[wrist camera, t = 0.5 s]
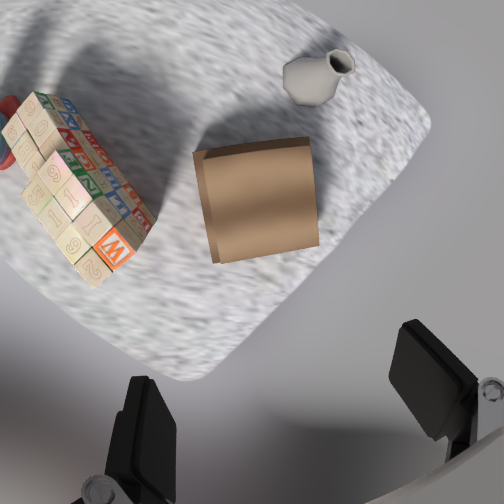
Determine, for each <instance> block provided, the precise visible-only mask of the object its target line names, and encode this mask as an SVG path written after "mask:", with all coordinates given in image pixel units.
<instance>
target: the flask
mask: <svg viewBox="0 0 504 504" xmlns="http://www.w3.org/2000/svg"><path fill="white" fill-rule="evenodd" d="M354 72H355V61H354V59H353V58H352V56H351V55H350V54H349V52H348V51H346V50H342V49H337V48H335V49H333V50H331V51H329V52H327V53H326V57H323V58H307V57H300V58H298V59H296V60H294V61H292V62H291V63H289V64H287V65H285V66H284V67H283V87H284V89H285V90H286V91H287V93H288V94H289V95H290V97H291V98H292V99H293V101H294V102H295V104H296V105H304V106H314V107H318V106H320V105H322V104H323V103H325V102H326V101H328V100H330V99H331V98H333V97H334V95H335V91H336V87H337V85H338V82H339V79H340V78H341V77H346V76H348V75H350V74H352V73H354Z"/></svg>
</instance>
